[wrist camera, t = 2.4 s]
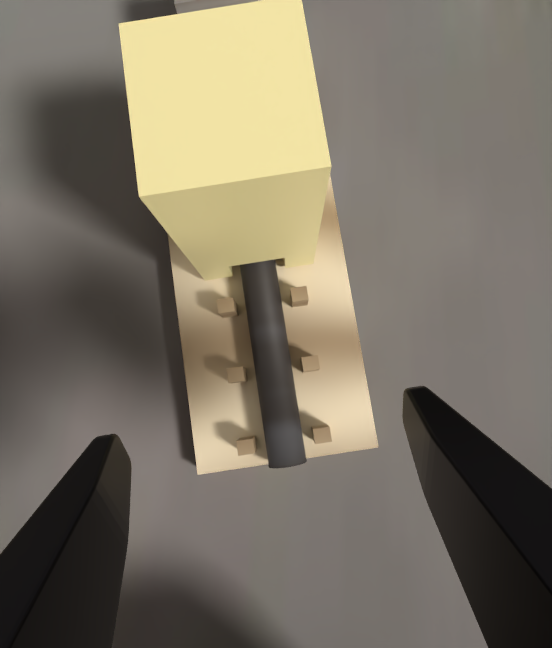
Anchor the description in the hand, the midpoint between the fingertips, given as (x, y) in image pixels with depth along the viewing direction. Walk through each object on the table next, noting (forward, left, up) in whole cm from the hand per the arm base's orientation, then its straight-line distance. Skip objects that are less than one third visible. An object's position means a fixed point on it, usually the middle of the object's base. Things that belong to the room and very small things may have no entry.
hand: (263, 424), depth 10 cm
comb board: (+7, -4, -13) cm, 15 cm away
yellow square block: (+7, -4, -11) cm, 14 cm away
